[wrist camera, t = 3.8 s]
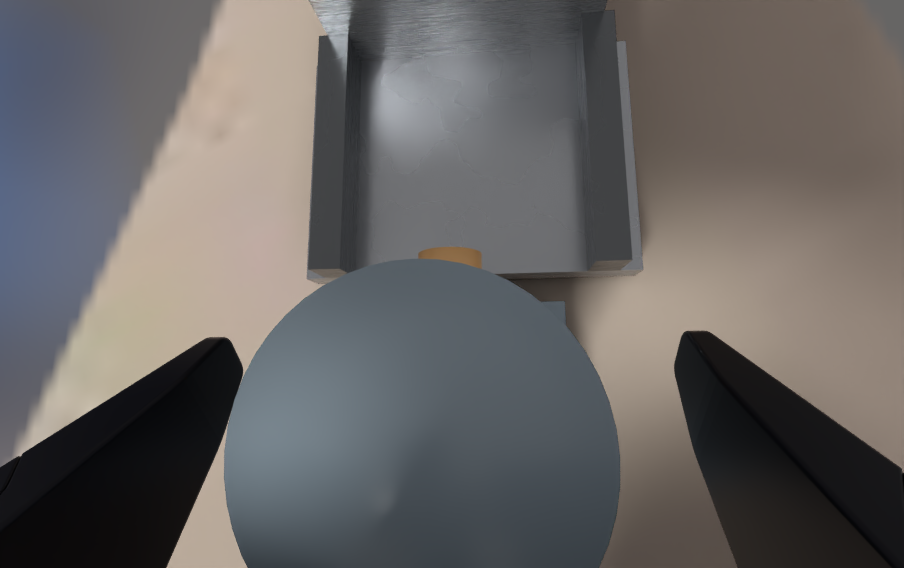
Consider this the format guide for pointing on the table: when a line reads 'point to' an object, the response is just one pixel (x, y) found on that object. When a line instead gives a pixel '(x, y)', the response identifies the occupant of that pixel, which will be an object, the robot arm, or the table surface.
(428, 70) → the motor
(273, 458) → the blue-grey knob on base
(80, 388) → the table surface
